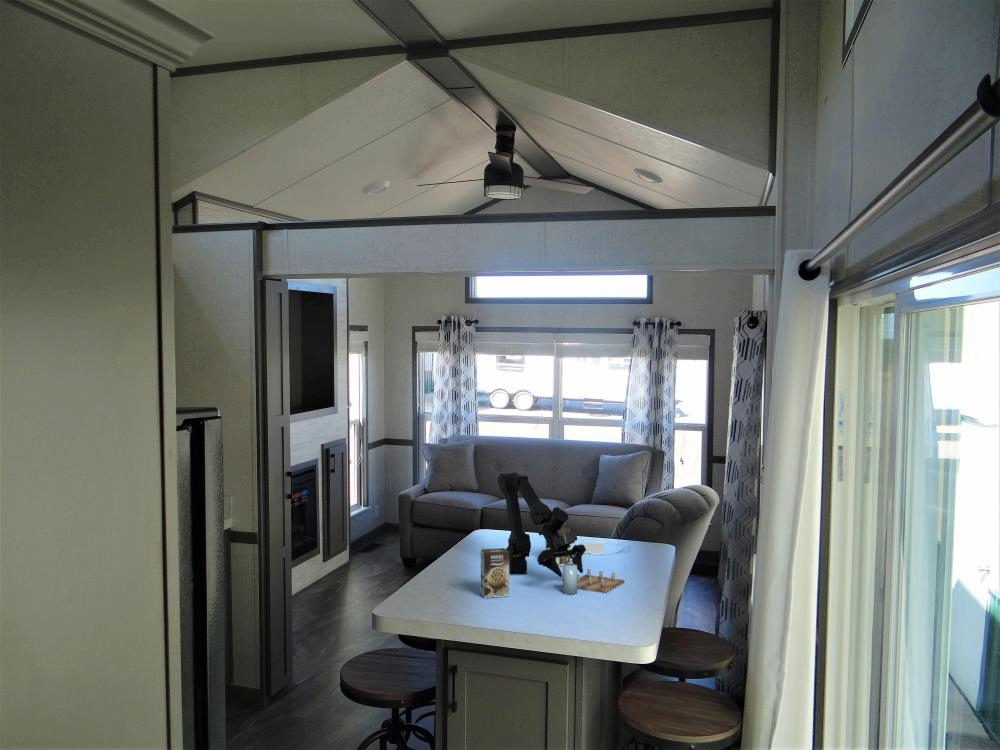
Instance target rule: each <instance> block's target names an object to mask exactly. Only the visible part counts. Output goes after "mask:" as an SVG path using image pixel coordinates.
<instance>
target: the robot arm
mask: <svg viewBox="0 0 1000 750" xmlns="http://www.w3.org/2000/svg"><path fill="white" fill-rule="evenodd" d="M497 483H498V487H499V490H500V492H501V493H502V494H503V495H504V496H505V497H504V498H505V502H506V503H505V504H506V509H507V515H508V516H507V517H508V523H509V528H510V529H509V530H510V534H509V537H508V540H507V542H508V543H507V544H508V545H507V547H506V548H505V549H506V550H508V551H509V575H511V574H518V575H527V574H528V561H527V560H526V558H529V557H530V553H531V549H532V543H531V536H530V534H529V533H526V532H525V530H524V526H523V525H524V524H523V520H522V519H523V518H522V513H521V508H520V502H519V496H518V494H519V493H520V494H521V496H522V498H523V500H524V501H525V503H526V505H527V506H528V509H529V517H530V519H531V522H532V523H533V525H534V526H541V527H540V528H539V531H538V536H543V539H544V541H545V543H546V542H547V545H546V544H545V548H546V547H547V548H550V549H549V550H546V549H545V550H544V549H543V550H542V551H541V552H539V554H538V556H537V558H536V560H537V561H536V562H537V563H538V565H539V566H542V567H543V568H544V567H545V568H547V569H548V570H550V571H552V573H554V574H555V575H557V576H558V577H560V578H563V572H562V571H561V569H560V566H558V564H557V562H556V558H558V557H564V556H570V560H571V562H572V564H576V565H577V572H579V573H580V574H583V572H584V568H583V567H584V566H583V560H582V557H583V556H584V555H583V554H585V553H584V552H585V551H586V548H585V546H584V545H585V544H583V543H581V544H576V545H573V546H572V548H571V546H570V545H572V544H575V543H576V541H578V535H577V534H576V532H575V531H572V532H571V531H570V533H569V534H568V535H560V533H559V532H558V531H559V530H561V529H562V528H563V527H565V525H566V523H568V520H569V519H570V517H569V514H568V513H567V512H566V510H563V509H561V508H560V507H559V506H555V507H554V508H553V509H550V507H549V506H548V505H547V504H545V503H544V502H542V501H541V500H540V498H539V496H538V494H537V493H536V491H535V489H534V488H533V486H532V484H531V483H530V481H529V477H528V476H527V475H525V474H524V475H523V474H517V472H515V471H514V472H502V473H500V474H499V476H498V478H497ZM569 547H570V550H568V548H569Z"/></svg>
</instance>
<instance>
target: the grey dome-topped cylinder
mask: <svg viewBox="0 0 1000 750" xmlns="http://www.w3.org/2000/svg"><path fill="white" fill-rule="evenodd" d="M577 575H578V569H577V565H576V564H573V563H570V564H564V565H563V566H562V594H563V593H564V594H563V595H565V594H567V595H566V596H575V594H576V595H578V589H577Z"/></svg>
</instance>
